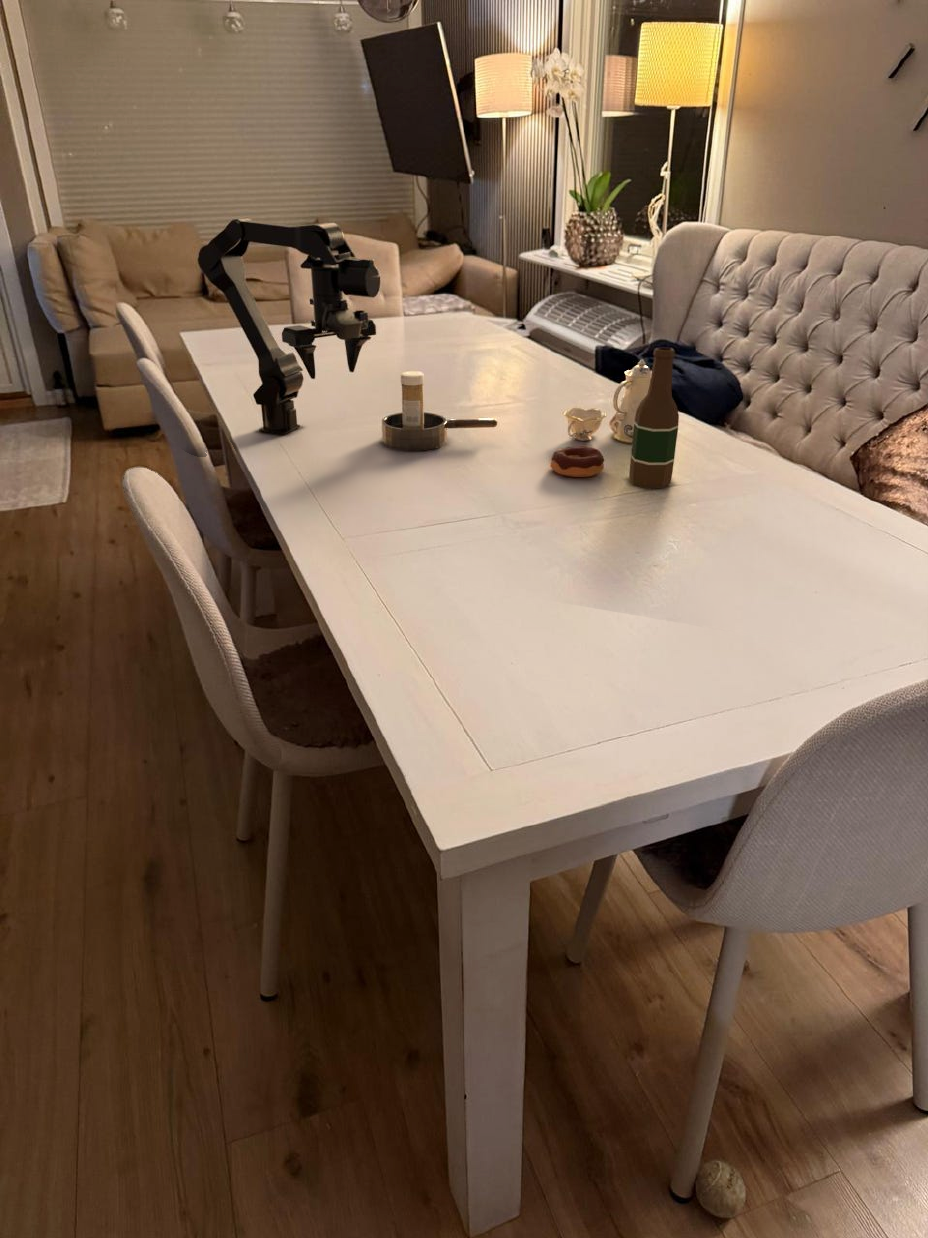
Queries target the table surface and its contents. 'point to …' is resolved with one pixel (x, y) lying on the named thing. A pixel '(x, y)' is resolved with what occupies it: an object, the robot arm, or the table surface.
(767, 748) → the table surface
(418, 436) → the pan
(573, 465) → the donut
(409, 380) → the sprinkles bottle
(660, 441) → the beer bottle
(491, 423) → the pan handle
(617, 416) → the chinaware
